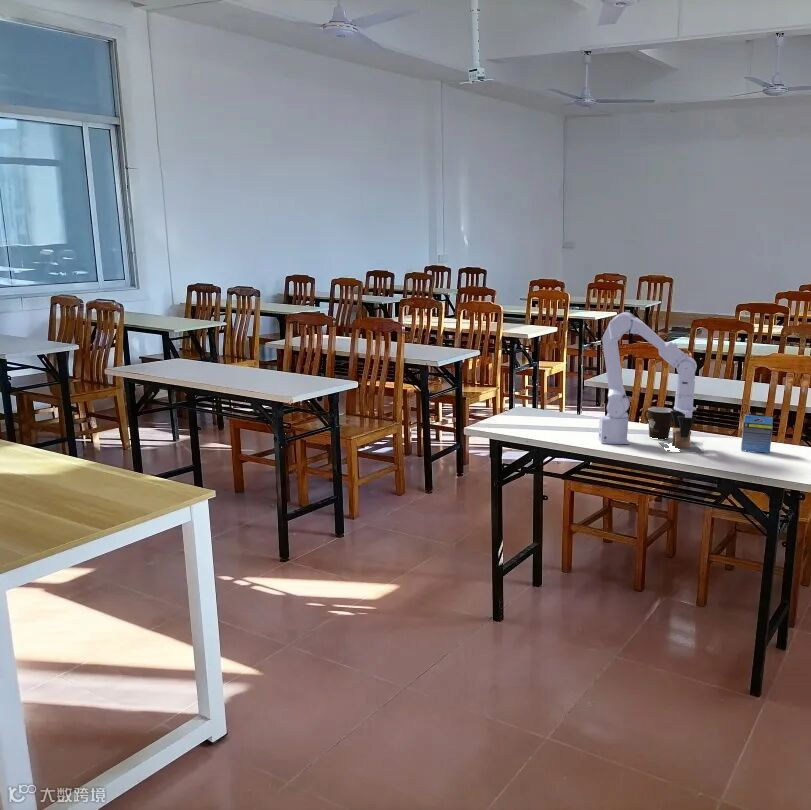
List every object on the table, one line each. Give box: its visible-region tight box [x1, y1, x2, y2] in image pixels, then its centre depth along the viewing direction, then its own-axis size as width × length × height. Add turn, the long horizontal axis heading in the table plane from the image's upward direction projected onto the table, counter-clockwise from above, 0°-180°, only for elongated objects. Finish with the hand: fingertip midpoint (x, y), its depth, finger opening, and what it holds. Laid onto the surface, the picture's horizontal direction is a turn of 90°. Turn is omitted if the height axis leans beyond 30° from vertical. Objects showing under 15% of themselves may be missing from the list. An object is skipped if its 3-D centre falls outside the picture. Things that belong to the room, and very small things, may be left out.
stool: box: [671, 427, 692, 449], centre depth 276 cm, size 5×4×6 cm
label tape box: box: [740, 414, 774, 454], centre depth 273 cm, size 9×4×12 cm, turn 68°
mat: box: [657, 441, 705, 454], centre depth 277 cm, size 12×12×1 cm
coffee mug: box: [643, 407, 675, 439], centre depth 292 cm, size 12×9×10 cm
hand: (681, 434), depth 276 cm, fingers open, 7 cm apart
